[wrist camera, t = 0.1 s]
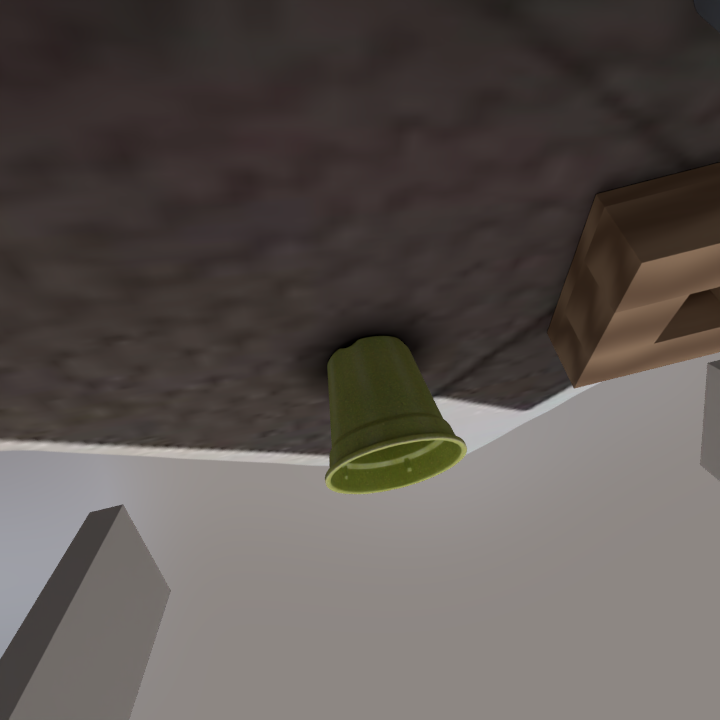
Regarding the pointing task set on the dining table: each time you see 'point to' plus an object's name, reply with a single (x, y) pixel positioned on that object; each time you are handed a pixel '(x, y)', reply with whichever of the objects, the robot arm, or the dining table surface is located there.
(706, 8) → the dowel
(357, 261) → the dining table surface
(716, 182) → the bore block
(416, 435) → the plant pot
